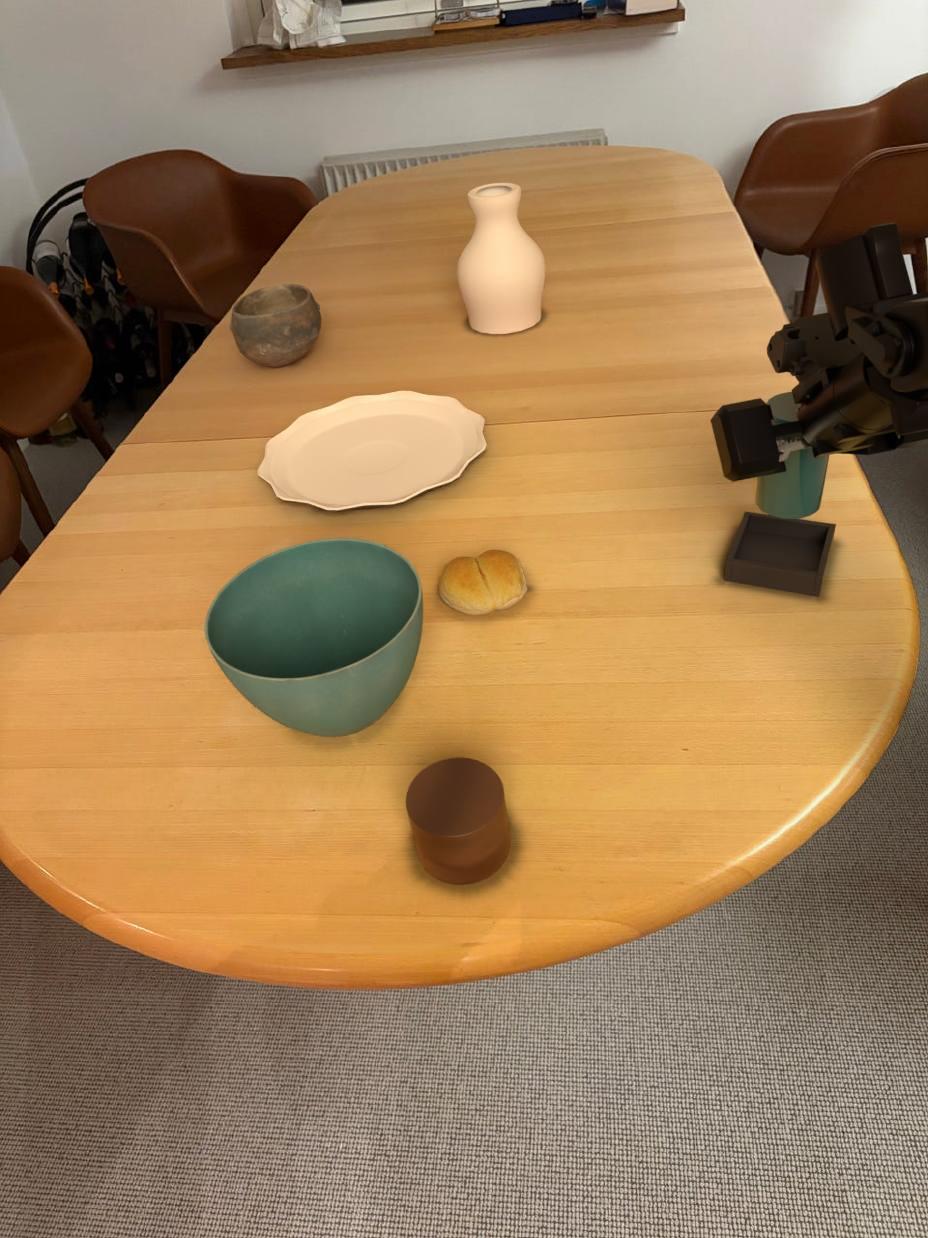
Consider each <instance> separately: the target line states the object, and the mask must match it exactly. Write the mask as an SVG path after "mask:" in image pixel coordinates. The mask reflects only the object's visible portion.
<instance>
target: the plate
mask: <svg viewBox="0 0 928 1238" xmlns="http://www.w3.org/2000/svg"><path fill="white" fill-rule="evenodd" d="M485 424H486V419H485V417H483V415H481V414H480V413H478V412H475V411H473V410H471V409H469V408H467V407H466V406H465V405H464V404H462V403H461V402H460V400H459V399H457V398H456V397H451V396H447V395H446V396H445V395H432V394H425V393H420V392H417V391H412V390H398V391H397V390H396V391H392V392H387V393H381V394H369V395H355V396H351V397H347V398H344V399H342V400H339V401H337V402H335V403H333V404H331V405H329V406H326V407H322V408H319V409H316V410H312V411H309V412H305V413H304V414H302V415H300V416H299V417H297V418H296V419H295V420H294V421H293V422H292V423H291V424H290V425H289V426H288V427H287V428H286V429H284V430H283V431H281V432H279V433H278V434H276V435H274V436H273V437H272V438H270V439H269V440H268V441H267V442H266V443H265V444H264V457H263V459H262V461H261V463H260V465H259V466H258V467H257V470H256V471H257V476H258V477H259V478H260V479H262V480H263V481H264V482H265V483H267V484H268V485H270V486H271V489H272V490H273V493H274V494H275V496H276V498H277V499H279V500H281V501H283V502H286V503H287V502H288V503H297V504H304V505H309V506H312V507H315V508H317V509H320V510H323V511H326V512H335V513H336V512H337V513H338V512H343V511H350V510H351V511H353V510H355V511H356V510H372V509H378V508H384V507H385V508H386V507H393V506H397V505H401V504H404V503H406V502H408V501H409V500H413V499H416V498H419V497H421V496H423V495H425V494H427V493H430V492H433V491H435V490H437V489H439V488H443V487H445V486H447V485H449V484H452V483H453V482H455V481H457V480H458V479H460V477H461V476H462V475H463V474H464V472H465V470H466V469H467V467H468V466H469V465H470V464H471V463H472V462H473V461H475V460H476V459H477V458H478V457H480V456H481V455H482V454H484V452H485V451H486V449H487V447H488V444H487V440H486V438H485V436H484V429H485Z"/></svg>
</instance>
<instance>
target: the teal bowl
mask: <svg viewBox="0 0 928 1238" xmlns="http://www.w3.org/2000/svg"><path fill="white" fill-rule="evenodd" d="M423 623H424V597H423V588H422V583H421V579H420V575H419V573H418V571H417V570H416V567H414V565H413V563H412V562H411V561H410V560H409V559H408V558H407V557H406V556H405V555H403V554H402V553H401V552H399V551H397V550H396V549H394V548H392V547H390V546H387V545H385V544H382V543H380V542H377V541H376V542H375V541H372V540H367V539H360V538H351V537H350V538H349V537H337V538H336V537H334V538H322V539H315V540H310V541H305V542H301V543H297V544H293V545H291V546H287V547H284V548H281V549H279V550H277V551H276V550H275V551H274V552H271V553H269V554H267V555H265V556H263V557H261V558H259V559H258V560H255V561H254V562H252V563H251V564H249V565H247V566H246V567H244V568H243V569H242V570H241V571H239V572H238V573H236V574H235V575H234V576H233V577H231V578H230V579H229V581H227V582H226V584H225V585H223V587H222V588H221V589H220V590H219V591H218V593H216V595H215V597H214V598H213V600H212V602H211V603H210V605H209V608H208V610H207V613H206V617H205V621H204V630H203V631H204V637H205V638H204V639H205V641H206V644H207V647H208V649H209V651H210V653H211V655H212V657H213V658H214V660H215V662H216V664H217V665H218V667H219V668H220V670H221V672H222V673H223V674H224V675H225V677H226V678H227V679H228V681H229V682H230V683H231V685H232V686H233V687H234V688H235V689H236V690H237V692H239V694H240V695H241V696H242V697H243V698H244V699H245V700H246V701H248V703H250V704H251V705H252V706H253V707H254V708H256V709H257V710H258V711H260V712H261V713H262V714H264V715H265V716H267V717H268V718H269V719H271V720H273V721H274V722H277V723H278V724H280V725H282V726H284V727H287V728H288V729H292V730H294V731H298V732H300V733H303V734H307V735H312V736H317V737H323V738H339V737H340V738H341V737H345V736H349V735H354V734H356V733H359V732H361V731H363V730H364V729H367V728H368V727H370V726H372V725H373V724H375V723H376V722H377V721H378V720H379V719H380V718H381V717H382V716H384V714H385V713H386V712H387V711H388V710H389V709H390V708H391V707H392V706H393V704H394V703H395V701H396V700H398V698H399V696H400V695H401V694H402V692H403V690H404V689H405V687H406V685H407V683H408V681H409V679H410V676H411V675H412V671H413V669H414V667H415V664H416V661H417V657H418V655H419V650H420V645H421V640H422V634H423V633H422V632H423Z"/></svg>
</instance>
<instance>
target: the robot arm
mask: <svg viewBox="0 0 928 1238" xmlns="http://www.w3.org/2000/svg"><path fill="white" fill-rule="evenodd" d="M901 241H902V240H901V236H900V232H899V227H898V224H897V223H896V222H895V221H894V222H893V221H892V222H888V223H887V222H886V223H882V224H877V225H873V226H872V225H871V226H869V227H867V228H866V230H865V231H864V232H863V233H862V234H859V235H856V236H854V237H851V238H849V239H847V240H845V241H842V242H841V243H838V244H837V245H835V246H834V247H832V248H830V249H827V250H825V251H824V250H823V251H822V252H820V254H819V255H818V256H817V258H816V259H815V263H814V266H815V269H816V272H817V276H818V280H819V284H820V288H821V292H822V295H823V296H822V297H823V300H824V305H825V307H826V312H823V313H817V314H812V315H811V314H810V315H806V316H801V317H799V318H796V319H795V320H794V322H789V323H785V324H783V326H782V327H781V329H779V330H776V331H775V332H774V334H773V335H772V336H771V337H770V339H769V341H768V344H767V346H766V354H767V357H768V359H769V361H770V363H771V366H772V368H773V370H774V373H776V374H783V373H789V374H790V376H792V377H795V379H796V381H797V382H798V384H796V385H795V386H794V387H793V388H792V389H791V390H790V392H792V395H793V399H794V403H795V404H799V403H801V407H800V408H798V409H797V410H796V416H797V418H798V421H794V422H789V423H784V424H781V423H776V424H775V422H774V418H773V414H772V410H771V406H770V405H767V404H766V403H767V402H765V401H764V400H763V399H762V398H761V397H758V398H754V399H748V400H743V401H737V402H734V403H733V402H732V403H728V404H722V405H721V406H720V407H719V408H718V409H717V410H716V411H715V412H714V414H713V416H712V417H711V419H710V423H711V428H712V432H713V437H714V440H715V446H716V448H717V454H718V457H719V462H720V465H721V468H722V474H723V477H724V478H725V479H726V480H728V481H730V482H731V483H735V482H740V481H744V480H749V479H755V478H758V477H761V476H766V475H771V474H776V473H781V472H786V471H787V470H786V466H785V462H784V461H785V460H786V459H787V458H788V457H789V453H790V452H793V451H798V450H803V449H808V448H812V451H813V455H814V458H817V457H822V456H827V455H829V456H832V455H837V454H838V455H858V456H871V455H877V454H881V453H886V452H891V451H895V450H898V449H905V448H910V447H916V446H921V445H926V444H928V291H924V292H917V293H914V291H913V287H912V282H911V278H910V276H909V271H908V269H907V264H906V261H905V257H904V253H903V249H902V242H901ZM800 436H803V437H802V439H801V437H800ZM794 437H799V438H798V440H797V439H796V438H794ZM789 438H794V439H793V441H792V439H790V440H789V442H788V441H787V440H785V439H789Z"/></svg>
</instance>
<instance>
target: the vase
mask: <svg viewBox="0 0 928 1238" xmlns="http://www.w3.org/2000/svg"><path fill="white" fill-rule="evenodd" d="M521 200H522V188H521V186H520V185H518V184H517V183H512V182H493V183H488V184H482V185H480V186H476V187H473V188H472V189H470V190H469V192H468V193H467V201H468V205H469V207H470V210H471V212H472V215H473V217H474V230H473V232H472V236H471V237H470V239H469V241H468V242H467V244H466V246H465V247H464V249H463V251H462V252H461V254H460V256H459V259H458V261H457V265H456V281H457V285H458V290H459V292H460V295H461V298H462V301H463V304H464V307H465V310H466V313H467V317H468V324H469V326H470V328H471V329H472V330H474V331H477V332H478V333H483V334H489V335H507V334H511V333H512V334H513V333H517V332H522V331H525V330H526V329H529V328H531V327H534V326H535V325H536V324H537V323H539V322H540V321H541V318H542V303H543V296H544V290H545V285H546V278H547V277H546V276H547V265H546V259H545V256H544V254H543V252H542V250H541V248H540V247H539V245H537V243H536V242H535V241H534V239H532V238H531V237H530V236H529V234H528V233H526V231H525V230H524V228H523V227H522V225H521V223H520V220H519V208H520V205H521Z"/></svg>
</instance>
